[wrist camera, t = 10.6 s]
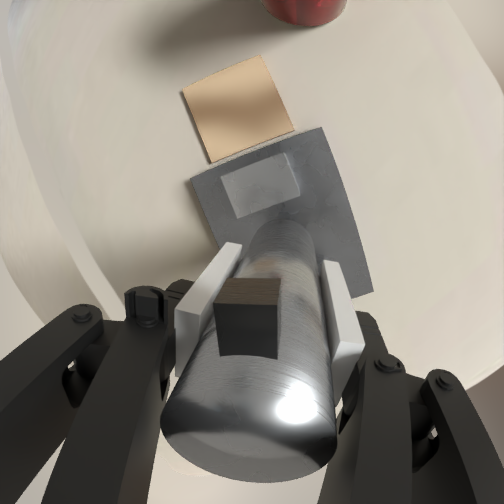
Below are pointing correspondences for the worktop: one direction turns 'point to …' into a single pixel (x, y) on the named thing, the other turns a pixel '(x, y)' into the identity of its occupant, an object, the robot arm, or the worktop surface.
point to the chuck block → (287, 201)
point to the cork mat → (237, 108)
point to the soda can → (305, 10)
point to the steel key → (260, 369)
